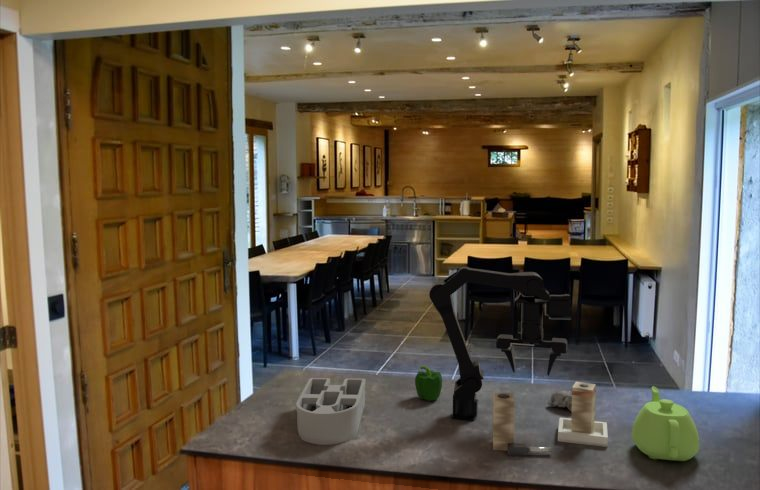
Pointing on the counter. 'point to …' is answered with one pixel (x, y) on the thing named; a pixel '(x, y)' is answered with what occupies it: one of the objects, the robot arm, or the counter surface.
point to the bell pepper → (428, 384)
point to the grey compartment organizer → (330, 410)
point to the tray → (583, 434)
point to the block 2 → (583, 408)
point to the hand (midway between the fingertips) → (531, 373)
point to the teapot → (665, 430)
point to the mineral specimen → (561, 399)
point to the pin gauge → (525, 449)
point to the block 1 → (503, 420)
